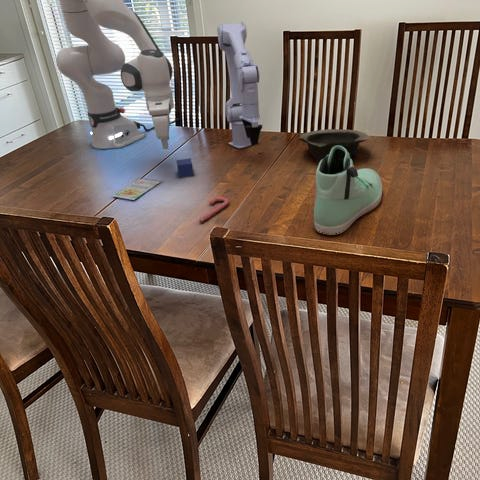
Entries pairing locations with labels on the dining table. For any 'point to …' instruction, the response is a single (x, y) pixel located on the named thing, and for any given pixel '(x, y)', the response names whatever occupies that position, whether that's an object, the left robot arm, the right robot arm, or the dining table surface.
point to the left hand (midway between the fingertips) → (166, 143)
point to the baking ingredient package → (136, 189)
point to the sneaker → (343, 192)
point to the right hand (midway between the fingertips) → (252, 140)
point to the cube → (185, 168)
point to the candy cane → (215, 208)
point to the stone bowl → (333, 141)
